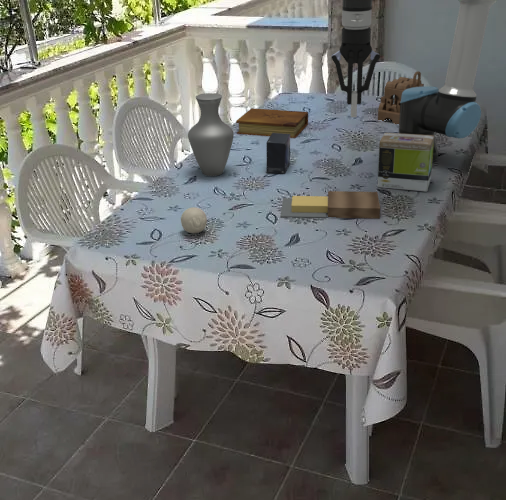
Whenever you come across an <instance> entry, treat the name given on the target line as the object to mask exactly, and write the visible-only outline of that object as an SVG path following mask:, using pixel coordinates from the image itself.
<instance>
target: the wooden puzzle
mask: <svg viewBox="0 0 506 500" xmlns="http://www.w3.org/2000/svg"><path fill="white" fill-rule="evenodd" d="M421 78H422V73H421V72H420V71H418V70H417V71H415V72H414V74H413V78H411V77H410V78H409V77H404V76H400V77H398V78H394V79H393V80H392V81H390V80H389V81H387V82H386V83H385V85H384V90H383V93H384V94H383V96H381V97H380V103H379V105H378V109H377V121H378V120H382V121H384V120H386V119H387V120H388V119H390V120H392V121H391V122H392V124H393V123H395V124H394V125H397V124H399V119H400V102H401V97H402V93H403V91H404V90H406V89H409V88H413V87H424V85H425V84H424V83H422V80H421ZM390 120H388V121H390ZM384 122H385V121H384Z"/></svg>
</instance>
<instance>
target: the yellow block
mask: <svg viewBox="0 0 506 500" xmlns="http://www.w3.org/2000/svg"><path fill="white" fill-rule="evenodd" d="M291 198H292V212H313V213H326V214H328V195H326V196H323V195H322V196H320V195H317V196H315V195H312V196H311V195H310V196H309V195H292V197H291Z"/></svg>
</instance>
